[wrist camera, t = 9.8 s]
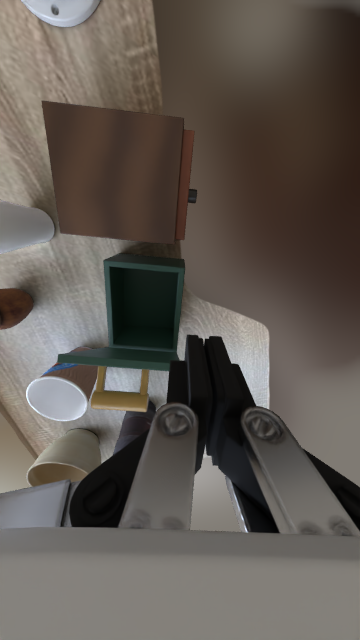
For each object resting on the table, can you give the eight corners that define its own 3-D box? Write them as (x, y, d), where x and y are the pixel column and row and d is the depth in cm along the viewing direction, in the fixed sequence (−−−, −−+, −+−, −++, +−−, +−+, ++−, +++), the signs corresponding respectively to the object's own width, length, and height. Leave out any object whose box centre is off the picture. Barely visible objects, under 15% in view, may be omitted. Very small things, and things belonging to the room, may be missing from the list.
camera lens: (165, 408, 52) (160, 473, 39) (143, 423, 54) (130, 488, 41) (143, 390, 50) (129, 453, 36) (120, 406, 52) (99, 470, 38)
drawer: (198, 157, 30) (205, 131, 22) (190, 237, 34) (193, 241, 26) (100, 146, 29) (70, 115, 21) (105, 229, 34) (81, 229, 26)
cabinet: (182, 152, 30) (183, 117, 20) (175, 239, 35) (174, 244, 25) (86, 141, 29) (41, 100, 20) (93, 231, 35) (60, 233, 25)
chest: (119, 253, 36) (103, 260, 28) (184, 259, 36) (185, 267, 29) (121, 325, 42) (109, 347, 35) (177, 330, 43) (176, 353, 35)
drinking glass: (65, 217, 34) (-13, 211, 20) (54, 254, 36) (-21, 271, 23) (23, 193, 32) (-92, 170, 19) (15, 234, 35) (-91, 239, 21)
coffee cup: (94, 333, 43) (65, 370, 32) (117, 370, 47) (98, 413, 36) (53, 347, 44) (12, 387, 34) (78, 381, 48) (49, 427, 38)
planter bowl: (45, 419, 54) (15, 463, 44) (105, 419, 54) (88, 462, 44) (61, 457, 61) (38, 501, 51) (114, 456, 61) (102, 501, 51)
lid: (57, 354, 19) (49, 414, 18) (181, 363, 19) (176, 422, 19) (108, 346, 34) (104, 379, 34) (176, 352, 35) (174, 384, 34)
